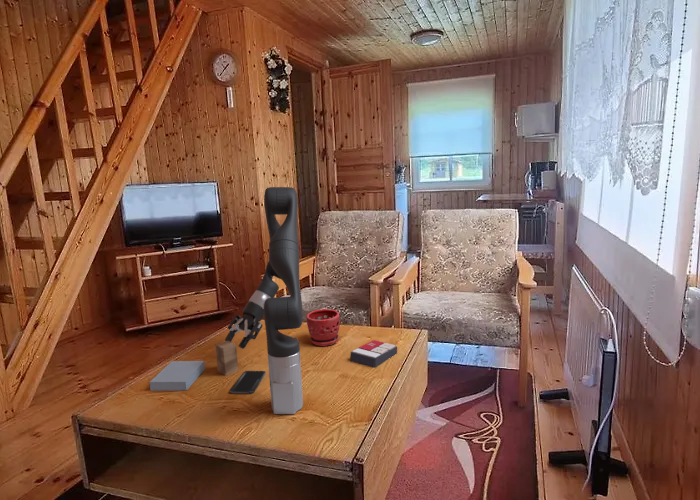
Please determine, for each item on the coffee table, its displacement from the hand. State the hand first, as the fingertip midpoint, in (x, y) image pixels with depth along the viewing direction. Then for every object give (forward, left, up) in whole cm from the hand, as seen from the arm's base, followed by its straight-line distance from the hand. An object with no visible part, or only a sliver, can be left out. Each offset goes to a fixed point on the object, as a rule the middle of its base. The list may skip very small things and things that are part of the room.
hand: (233, 344), depth 160 cm
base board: (-9, +17, -9) cm, 21 cm away
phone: (-12, -8, -9) cm, 17 cm away
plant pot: (+23, -29, -9) cm, 38 cm away
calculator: (+9, -49, -9) cm, 51 cm away
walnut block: (-3, +2, -9) cm, 9 cm away
